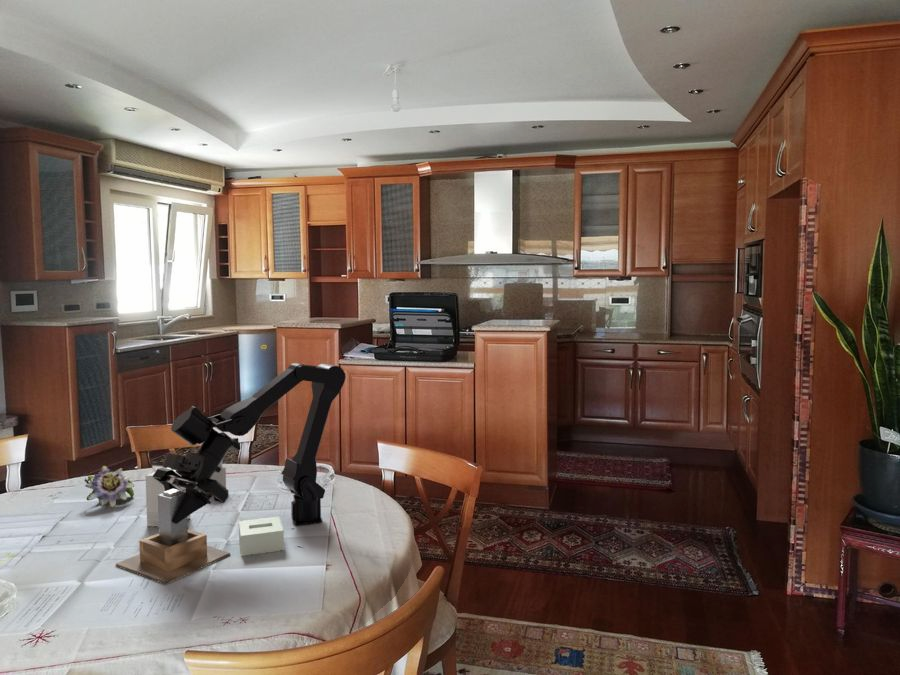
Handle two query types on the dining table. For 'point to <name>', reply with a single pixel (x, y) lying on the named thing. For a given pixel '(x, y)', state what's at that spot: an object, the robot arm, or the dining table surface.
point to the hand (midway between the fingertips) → (167, 520)
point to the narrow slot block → (261, 536)
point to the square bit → (171, 518)
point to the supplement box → (154, 498)
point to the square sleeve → (172, 557)
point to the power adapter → (220, 475)
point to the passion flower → (109, 486)
